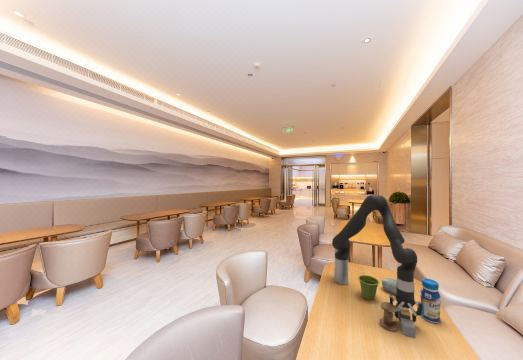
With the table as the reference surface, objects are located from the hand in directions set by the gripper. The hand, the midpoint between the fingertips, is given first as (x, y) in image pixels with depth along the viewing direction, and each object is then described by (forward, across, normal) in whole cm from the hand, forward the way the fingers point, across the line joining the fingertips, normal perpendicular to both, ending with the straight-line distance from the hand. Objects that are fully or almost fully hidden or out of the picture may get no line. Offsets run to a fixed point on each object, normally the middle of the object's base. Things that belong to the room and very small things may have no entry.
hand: (405, 319), depth 102 cm
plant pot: (+3, -16, +18) cm, 24 cm away
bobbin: (+2, -8, -5) cm, 10 cm away
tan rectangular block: (+2, 0, 0) cm, 2 cm away
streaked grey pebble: (+3, -1, +31) cm, 31 cm away
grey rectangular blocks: (+2, 0, 0) cm, 2 cm away
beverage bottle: (+3, +13, +11) cm, 17 cm away
